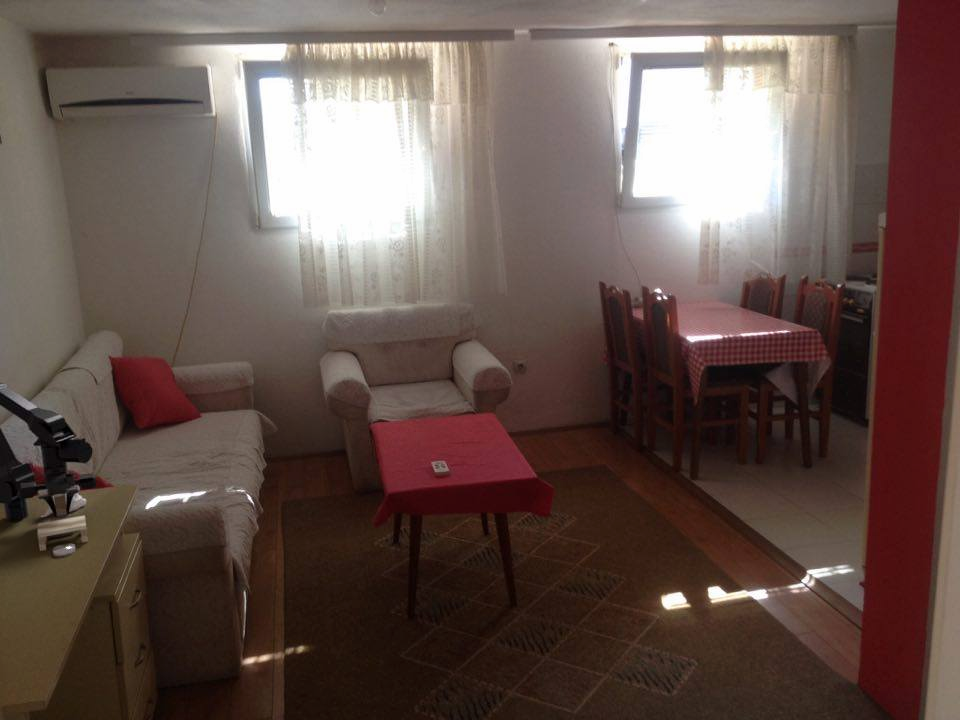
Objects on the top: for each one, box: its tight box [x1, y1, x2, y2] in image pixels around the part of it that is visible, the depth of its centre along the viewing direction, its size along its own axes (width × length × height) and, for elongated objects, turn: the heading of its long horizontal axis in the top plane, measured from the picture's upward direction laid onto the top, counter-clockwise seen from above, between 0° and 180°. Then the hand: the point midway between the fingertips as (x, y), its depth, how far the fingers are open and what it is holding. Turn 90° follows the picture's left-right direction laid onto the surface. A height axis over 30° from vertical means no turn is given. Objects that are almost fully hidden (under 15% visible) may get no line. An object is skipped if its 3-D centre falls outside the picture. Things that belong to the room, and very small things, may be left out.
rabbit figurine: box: [40, 486, 87, 518], centre depth 237 cm, size 12×8×10 cm, turn 119°
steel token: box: [52, 543, 76, 557], centre depth 208 cm, size 5×5×2 cm
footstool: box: [37, 514, 89, 552], centre depth 215 cm, size 8×11×4 cm
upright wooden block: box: [50, 494, 74, 539], centre depth 225 cm, size 16×5×7 cm, turn 26°
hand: (61, 515), depth 230 cm, fingers closed on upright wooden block, 2 cm apart
